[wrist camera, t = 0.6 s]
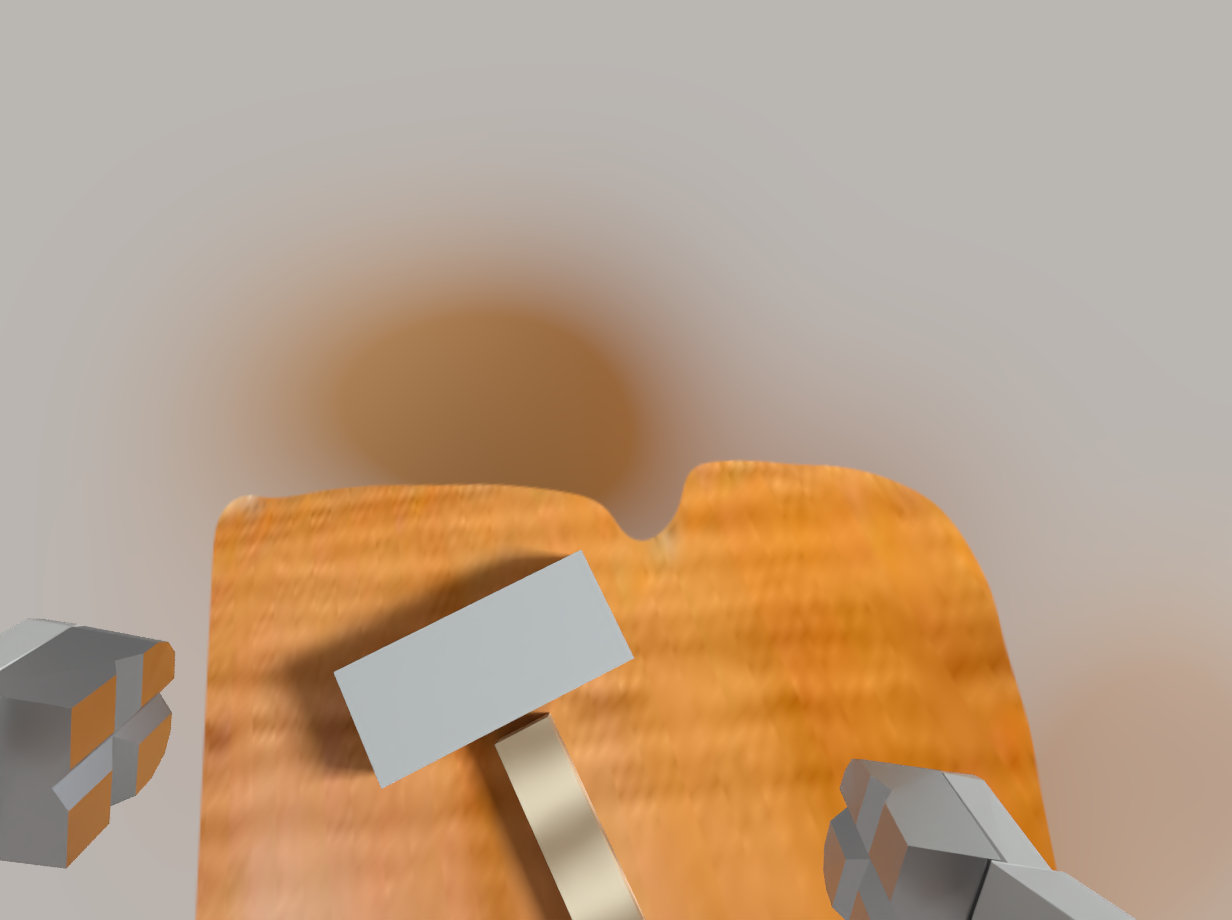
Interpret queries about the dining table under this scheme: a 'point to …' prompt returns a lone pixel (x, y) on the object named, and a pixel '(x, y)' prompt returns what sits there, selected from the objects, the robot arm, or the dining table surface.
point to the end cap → (481, 667)
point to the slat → (566, 824)
